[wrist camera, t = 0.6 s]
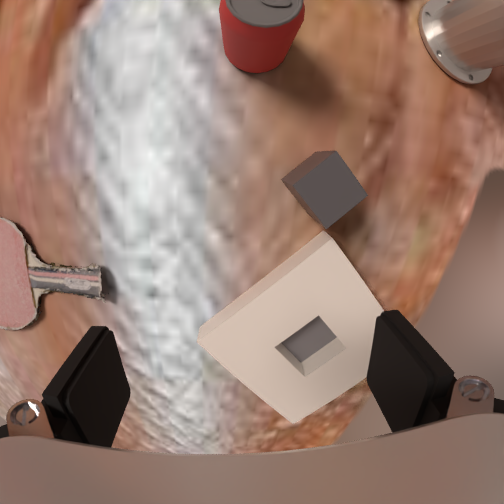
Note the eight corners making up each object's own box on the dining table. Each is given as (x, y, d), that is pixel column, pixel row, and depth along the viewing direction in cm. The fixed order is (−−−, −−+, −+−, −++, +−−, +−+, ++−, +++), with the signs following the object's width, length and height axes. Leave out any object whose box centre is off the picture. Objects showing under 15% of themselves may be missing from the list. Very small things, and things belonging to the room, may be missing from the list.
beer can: (277, 82, 30) (298, 44, 18) (216, 66, 29) (205, 21, 17) (293, 30, 28) (319, -22, 16) (234, 15, 27) (233, -44, 16)
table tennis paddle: (-39, 194, 31) (-52, 197, 28) (118, 263, 35) (109, 272, 32) (-41, 296, 35) (-51, 302, 32) (98, 372, 39) (91, 384, 36)
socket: (323, 230, 34) (332, 238, 31) (395, 332, 39) (407, 346, 35) (200, 326, 37) (196, 342, 34) (289, 406, 41) (293, 423, 38)
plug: (313, 152, 32) (336, 150, 24) (339, 186, 33) (367, 195, 25) (279, 178, 32) (292, 185, 25) (306, 212, 34) (326, 229, 26)
